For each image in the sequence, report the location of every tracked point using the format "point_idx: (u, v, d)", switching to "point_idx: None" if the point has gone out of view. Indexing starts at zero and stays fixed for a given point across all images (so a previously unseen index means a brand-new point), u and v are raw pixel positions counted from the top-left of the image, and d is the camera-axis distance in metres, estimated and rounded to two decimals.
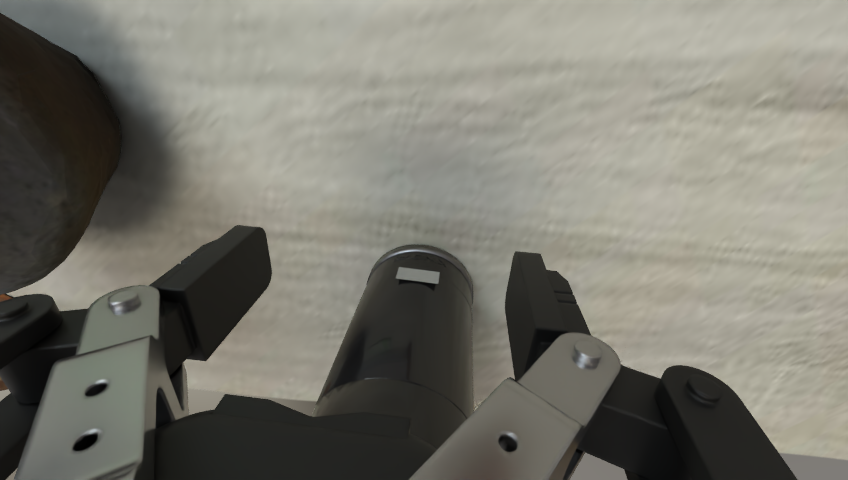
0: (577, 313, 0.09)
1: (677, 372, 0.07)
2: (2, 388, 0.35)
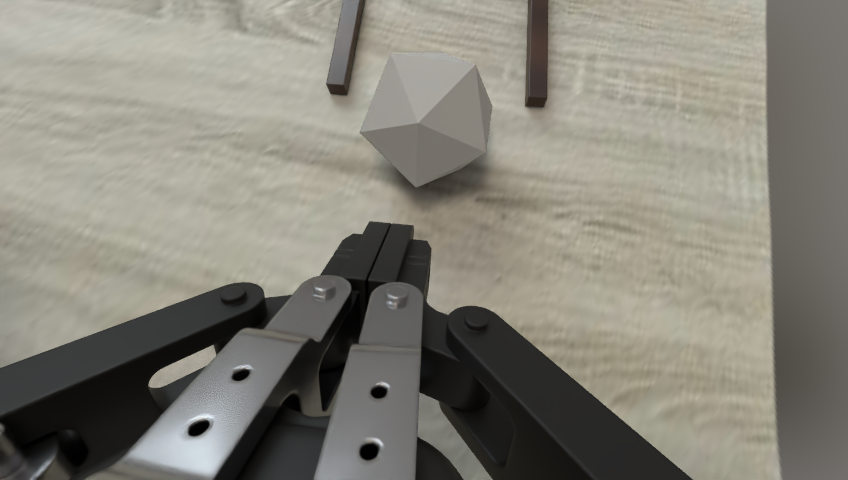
0: (423, 273, 0.10)
1: (455, 316, 0.08)
2: None
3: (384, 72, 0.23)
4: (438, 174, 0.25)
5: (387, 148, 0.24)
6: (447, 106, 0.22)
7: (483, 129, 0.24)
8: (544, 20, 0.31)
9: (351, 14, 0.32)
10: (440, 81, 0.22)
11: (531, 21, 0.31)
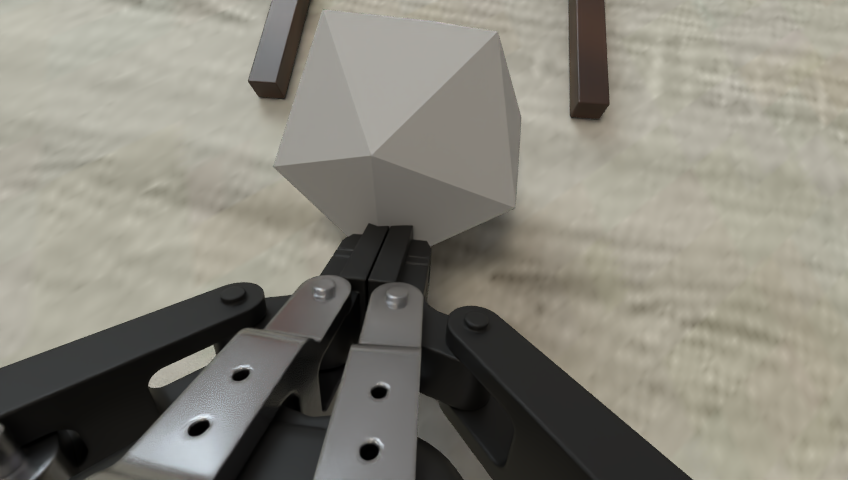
0: (423, 273, 0.10)
1: (455, 316, 0.08)
2: None
3: (312, 50, 0.11)
4: None
5: (323, 199, 0.13)
6: (438, 118, 0.10)
7: (511, 164, 0.12)
8: None
9: None
10: (423, 66, 0.10)
11: None
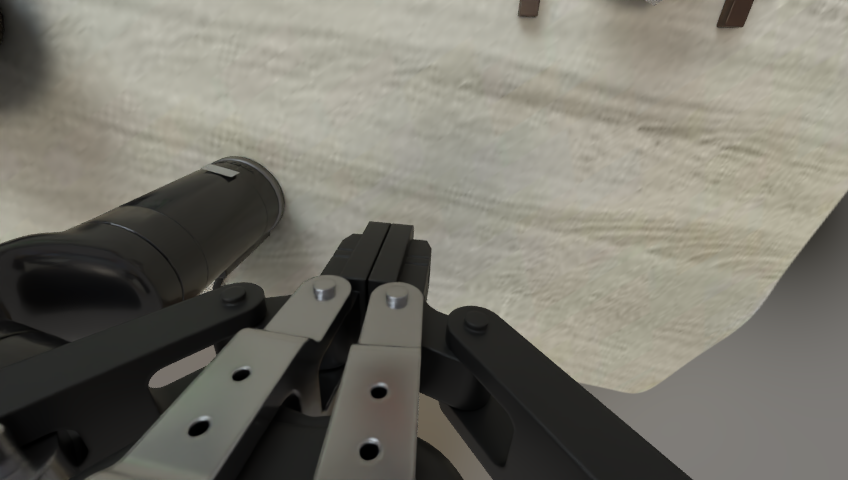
0: (423, 273, 0.10)
1: (455, 316, 0.08)
2: None
3: None
4: None
5: None
6: None
7: None
8: None
9: None
10: None
11: None
